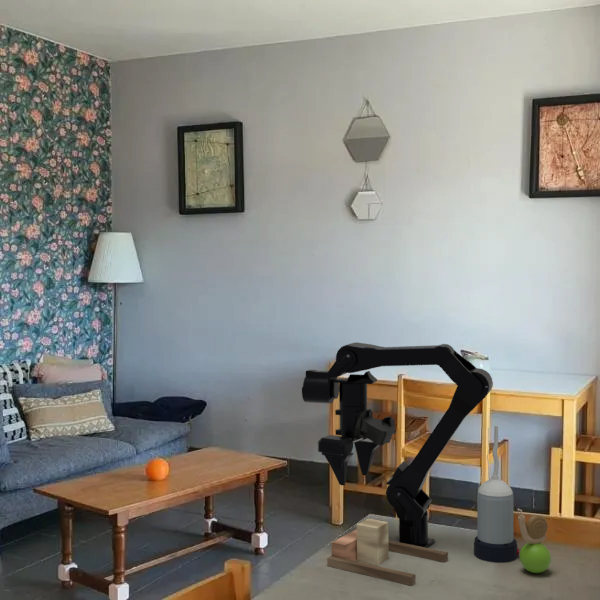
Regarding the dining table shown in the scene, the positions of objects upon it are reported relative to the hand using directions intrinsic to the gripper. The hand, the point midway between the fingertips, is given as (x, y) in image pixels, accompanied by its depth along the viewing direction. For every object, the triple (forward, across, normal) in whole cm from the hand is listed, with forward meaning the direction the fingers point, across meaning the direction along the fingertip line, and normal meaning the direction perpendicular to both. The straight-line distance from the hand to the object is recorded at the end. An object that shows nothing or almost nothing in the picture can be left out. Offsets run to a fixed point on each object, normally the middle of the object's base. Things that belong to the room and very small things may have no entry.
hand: (353, 480), depth 166 cm
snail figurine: (+12, +1, -37) cm, 39 cm away
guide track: (+12, -9, -12) cm, 20 cm away
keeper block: (+12, -9, -9) cm, 18 cm away
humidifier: (+12, +6, -28) cm, 31 cm away
